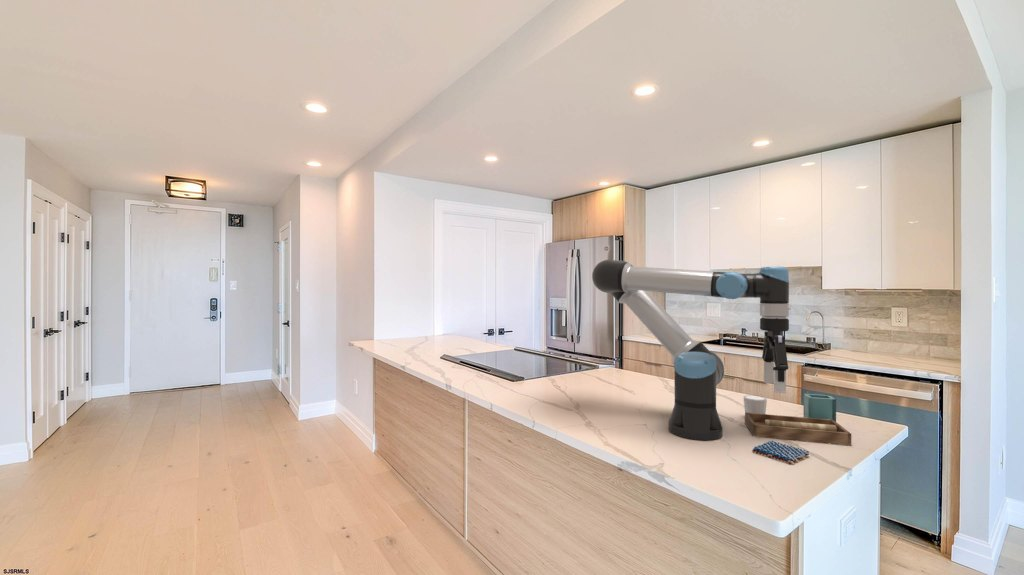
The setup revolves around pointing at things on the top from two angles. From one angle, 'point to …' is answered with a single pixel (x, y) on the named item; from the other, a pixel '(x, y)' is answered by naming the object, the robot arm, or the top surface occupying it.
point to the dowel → (801, 425)
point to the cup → (819, 406)
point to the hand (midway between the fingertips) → (774, 387)
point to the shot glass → (755, 404)
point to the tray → (796, 429)
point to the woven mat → (781, 452)
